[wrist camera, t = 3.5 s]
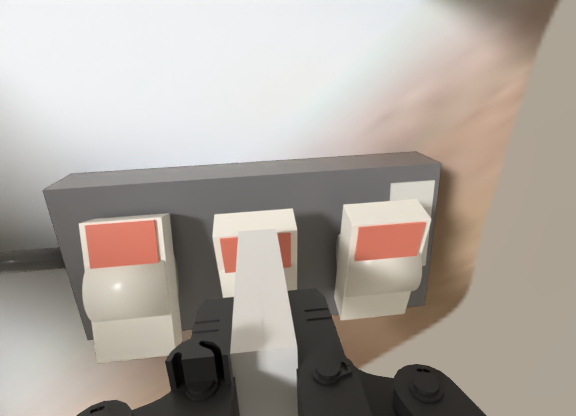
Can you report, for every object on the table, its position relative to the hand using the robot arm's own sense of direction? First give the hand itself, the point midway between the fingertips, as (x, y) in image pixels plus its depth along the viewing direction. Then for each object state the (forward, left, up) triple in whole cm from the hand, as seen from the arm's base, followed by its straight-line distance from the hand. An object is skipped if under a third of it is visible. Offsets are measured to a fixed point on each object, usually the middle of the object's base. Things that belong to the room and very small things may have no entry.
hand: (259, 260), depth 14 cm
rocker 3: (+6, -2, -4) cm, 8 cm away
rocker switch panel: (-4, -2, -8) cm, 9 cm away
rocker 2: (0, -2, -4) cm, 5 cm away
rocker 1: (-6, -3, -4) cm, 8 cm away
